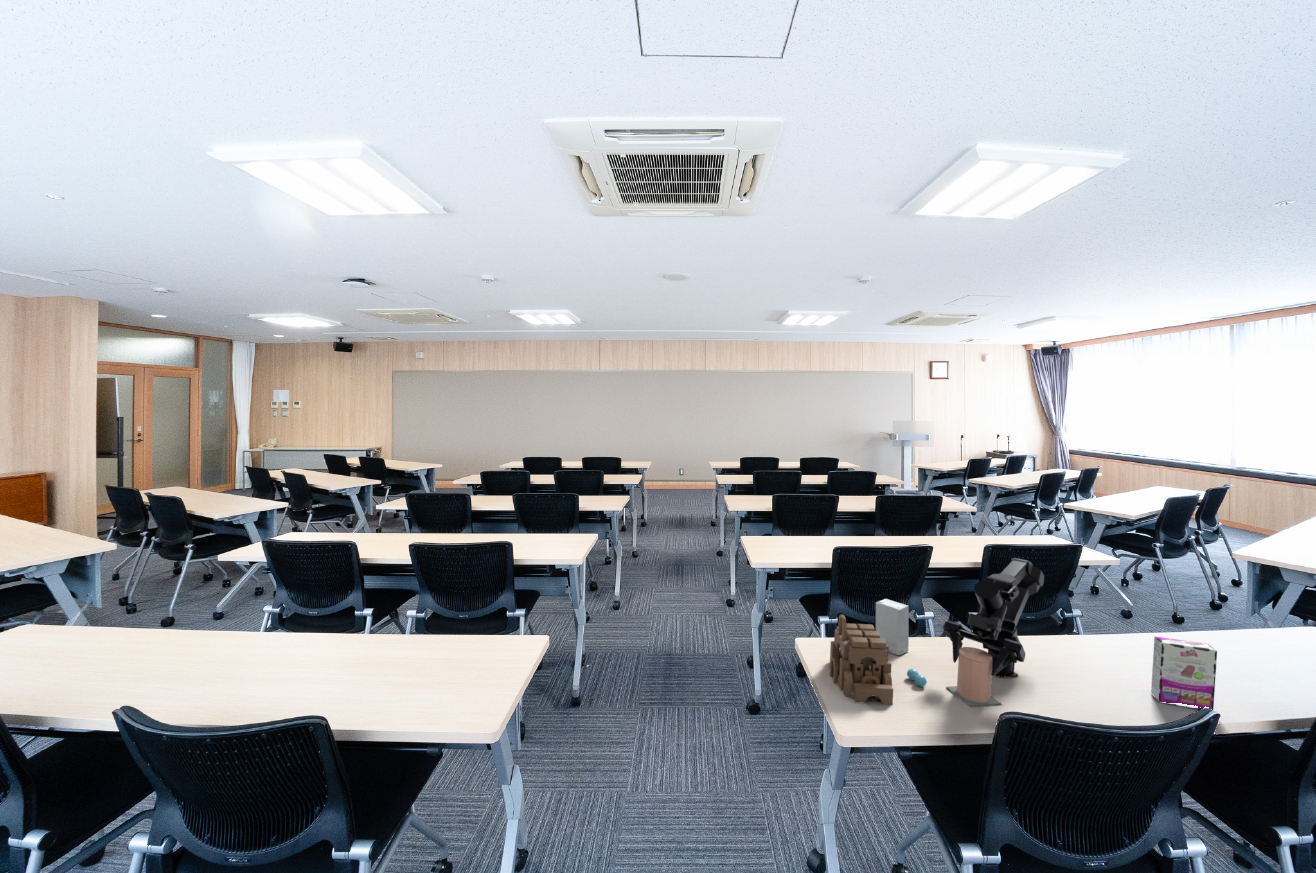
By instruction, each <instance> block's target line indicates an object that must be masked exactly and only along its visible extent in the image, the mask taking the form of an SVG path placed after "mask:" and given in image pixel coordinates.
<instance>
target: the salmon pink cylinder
mask: <svg viewBox="0 0 1316 873" xmlns="http://www.w3.org/2000/svg"><path fill="white" fill-rule="evenodd" d="M957 661H958V662H957V663H958V664H957V676H956V677H957V678H956V679H957V682H956V686H957V693H958V694H959V695H961V696H962V697H963V698H966V699H968V700H970V701H974V702H979V703H986V702H988V701H990V696H992V695H991V693H992V679H993V678H992V677H993V676H992V675H991V673H992V664H993V660H992V655H991V654H989V653H988V651H985V650H983V649H980V648H977V647H973V646H962V648H960V649H959V656H958V659H957Z"/></svg>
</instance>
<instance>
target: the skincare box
mask: <svg viewBox="0 0 1316 873" xmlns="http://www.w3.org/2000/svg"><path fill="white" fill-rule="evenodd" d="M909 613H910V612H909V604H907V605H906V604H905V603H901V602H897V601H894V600H891V599H888V598H884V599H882V600H878V601H876V602H875V631H878V632H879V635H880V637H881V638H883V639H885V642H886V644H887V645H888V647H889V651H888V653H891V654H893V655H896V656H900V655H904V654H906V653H908V652H909V627H910V626H909V625H910V624H909Z"/></svg>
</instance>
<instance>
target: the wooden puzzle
mask: <svg viewBox="0 0 1316 873" xmlns="http://www.w3.org/2000/svg"><path fill="white" fill-rule="evenodd" d="M845 616H846V615H844V614H839V615H838V625H837V626H836V629H834V636H833V638H834V640H830V649H829V650H830V651H829V654H830V655H829V677H830V678H833V681H832V682H833V684H834V685H837V686H838V688H839V690H840V692H841V691H842V694H843V696H844V697H845V699H852V700H853V701H854V702H855V703H857V704H858V703H860V704H865V703H866V701H867V699H868V698H870V697H874V699H876V700H879V701H880V703H881V704H882V705H893V702H894V688H893V679H892V663H891V662H890V661H889V647H888V645H887V644H886V642H885V639H883V638H881V637H880V635H879V632H878V631H876V628H875V627H874V625H873V624H870V623H868V624H865V623H847V618H846V617H845Z"/></svg>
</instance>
